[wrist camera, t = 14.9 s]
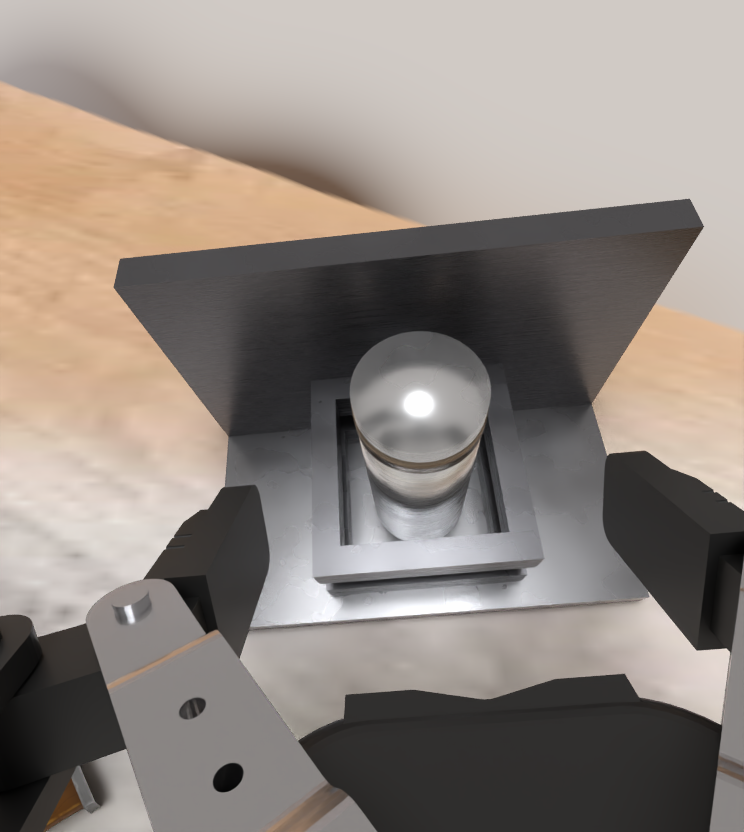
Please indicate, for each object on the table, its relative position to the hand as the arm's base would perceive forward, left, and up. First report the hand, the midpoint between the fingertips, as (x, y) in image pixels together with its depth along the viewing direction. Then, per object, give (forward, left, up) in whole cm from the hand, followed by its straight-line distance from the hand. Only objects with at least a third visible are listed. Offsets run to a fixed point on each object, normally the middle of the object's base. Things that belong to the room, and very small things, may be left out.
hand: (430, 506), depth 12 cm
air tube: (0, +4, -11) cm, 12 cm away
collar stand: (0, +5, -12) cm, 13 cm away
